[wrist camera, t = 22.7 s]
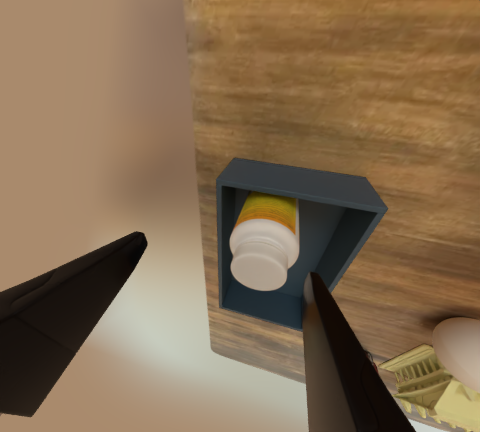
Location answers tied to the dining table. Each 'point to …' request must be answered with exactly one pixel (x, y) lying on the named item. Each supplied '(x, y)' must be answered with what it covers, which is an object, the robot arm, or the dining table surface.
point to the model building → (434, 389)
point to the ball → (459, 349)
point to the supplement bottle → (265, 240)
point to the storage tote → (310, 232)
